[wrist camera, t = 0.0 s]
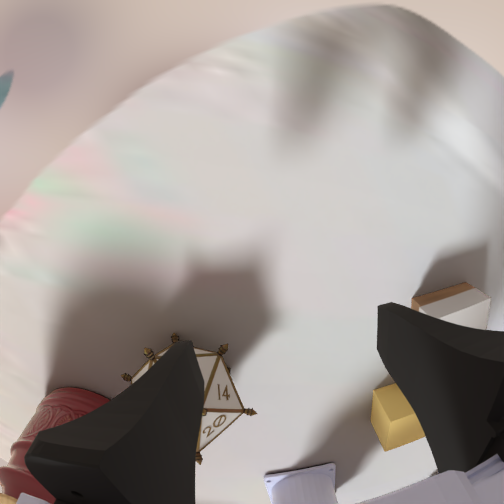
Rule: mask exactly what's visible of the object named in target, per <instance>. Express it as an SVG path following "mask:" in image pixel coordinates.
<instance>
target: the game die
mask: <svg viewBox="0 0 504 504" xmlns="http://www.w3.org/2000/svg"><path fill="white" fill-rule="evenodd" d="M178 337H179V336H177V335H176V334H175V333H173V335H172V336H171V338H172V342H173V344H175V343H176V342H178V340H179V339H178ZM173 344H172V345H173ZM172 345H170V346H168V347H167V348H165V349H164V350H162V351H160V352H159V353H157V354H156V355H154V353H153V351H152V350H151V349H147V348H144V355H146V357H147V358H150V359H149V360H148V361H147V362H146V363H145V364H144V365H143V366H142V367H141V368H140V369H139V370H138V371H137V372H136V373H135V374H134V375H133V376H132V377H131V376H130V375H129V374H128V375H127V374H126V373H125V374H123V375H121V376H122V378H123V379H124V381H125V380H126V381H131V385H132V384H133V383H134V382H135V381H136V380H138V379H139V378H140V377H141V376H142V375H143V374H144V373H145V372H146V371H148V370H149V369H150V368H151V367H152V366H153V365H154V364H155V363H156V362H157V361H158V360H159V359H160V358H161V356H162V355H163V354H164V353H165V352H166V351H167V350H168V349H169V348H170V347H171V346H172ZM193 348H194V351H195V354H196V357H197V360H198V363H199V367H200V370H201V373H202V376H203V379H204V382H205V383H204V407H203V413H202V419H201V425H200V431H199V436H198V442H197V449H196V458H195V461H197V462H198V463H199V464H200V465H201V462H202V455H201V454H200V451H201V450H203V449H204V448H205V447H206V446H207V445H208V444H210V443H211V442H212V441H213V440H214V439H215V438H216V437H218V436H219V435H220V434H221V433H222V432H223V431H224V430H225V429H227V428H228V427H229V426H230V425H231V424H232V423H233V422H234V421H235V420H236V419H237V418H238V417H240V416H241V415H242V414H243V413H245V414H247V415H250V416H252V415H255V414H257V413H256V412H255V411H254V410H253V408H252V409H249V408H248V409H245V408H244V406H243V404H242V402H241V400H240V397H239V395H238V393H237V390H236V388H235V386H234V383H233V381H232V379H231V376H230V369H231V368H228V367H226V364H225V362H224V360H223V357H222V355H223V354H225V353H226V351H227V350H228V344H225V345H221V347H220V348H218V349H219V351H218V352H213V351H208V350H204V349H200V348H196V347H193Z"/></svg>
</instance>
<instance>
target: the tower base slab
mask: <svg viewBox="0 0 504 504" xmlns="http://www.w3.org/2000/svg"><path fill="white" fill-rule="evenodd" d="M473 288H475V287H473V286H471V285H470V284H468V283H466V282H465V283H462V284H458V285H455V286H452V287H449V288H446V289H442V290H439V291H436V292H432V293H429V294H425V295H422V296H418V297H415V298H412V304H411V309H413V310H416V311H419V307H421V306H424V305H427V304H430V303H433V302H436V301H439V300H442V299H445V298H448V297H451V296H454V295H457V294H460V293H462V292H465V291H468V290H471V289H473Z"/></svg>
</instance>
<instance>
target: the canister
mask: <svg viewBox="0 0 504 504" xmlns="http://www.w3.org/2000/svg"><path fill="white" fill-rule="evenodd" d="M109 401H110V400H109V399H107V398H105V397H103V396H101V395H99V394H96V393H93V392H91V391H88V390H84V389H80V388H73V387H63V388H58V389H56V390H54V391H52V392H51V393H50V394H49V395H48V396H46V397H45V398H44V399H43V400H42V401H41V403H40V404H39V405H38V407H37V409H36V413H35V414H34V416H33V417H32V419H31V420H30V422H29V423H28V425H27V426H26V428H25V429H24V431H23V432H22V434H21V436H20V437H19V439H18V440H17V442H15V443H13V445H12V446H11V459H10V461H9V463H8V465H7V466H2V467H0V485H1V486H2V493H0V504H16V502H17V500H18V498H19V496H20V494H21V493H25V494H28V495H31V496H34V497H36V498H39V499H42V500H44V501H47V502H48V503H50V504H54V502H55V500H56V498H55V497H54V496H53V495H51V494H50V493H49V492H48V491H47V490H46V489H45V488H44V487H43V486H42V485H41V484H40V483H39V482H38V481H37V480H36V478H35V477H34V476H33V475H32V474H31V473H30V471H29V470H28V468H27V466H26V464H25V461H24V456H25V455H26V453H27V451H28V449H29V448H30V446H31V444H32V442H33V441H34V439H35V437H36V436H37V434H38V432H39V431H43V430H46V429H49V428H53V427H56V426H59V425H62V424H65V423H67V422H70V421H72V420H75V419H77V418H79V417H81V416H84V415H86V414H88V413H90V412H92V411H93V410H95V409H97V408H99V407H100V406H102V405H104V404H105V403H107V402H109Z"/></svg>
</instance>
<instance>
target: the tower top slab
mask: <svg viewBox="0 0 504 504" xmlns="http://www.w3.org/2000/svg"><path fill="white" fill-rule="evenodd" d="M490 303H491V297H489V296H488V295H486V294H485V293H483V292H481V291H480V290H478V289H477V288H473V289H471V290H468V291H465V292H462V293H460V294H457V295H454V296H451V297H448V298H445V299H442V300H439V301H436V302H433V303H430V304H427V305H424V306H421V307H419V312H421V313H424V314H427V315H429V316H432V317H435V318H438V319H441V320H444V321H447V322H451V323H454V324H458V325H462V326H466V327H471V328H476V329H483V330H486V328H487V322H488V316H489V310H490Z"/></svg>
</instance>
